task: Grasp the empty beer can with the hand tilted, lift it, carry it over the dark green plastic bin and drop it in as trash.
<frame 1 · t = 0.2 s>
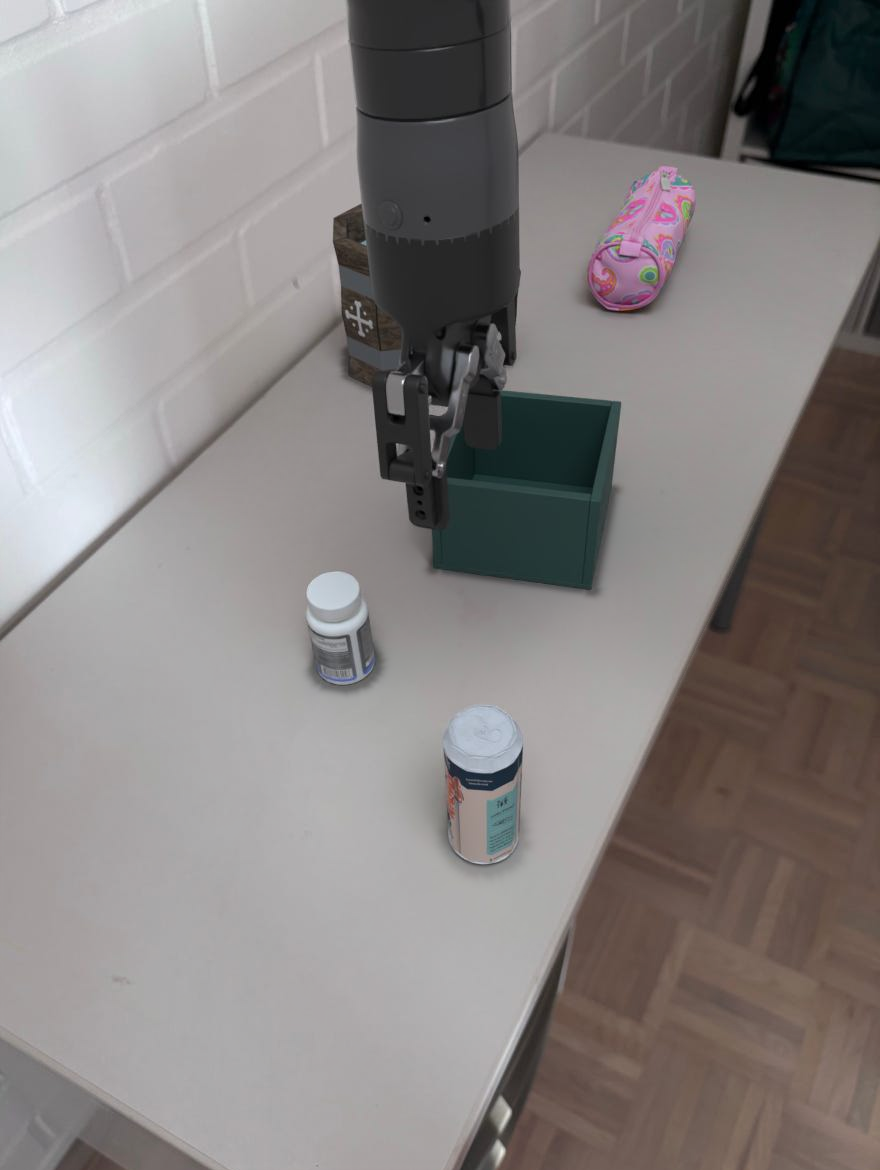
hand: (458, 483, 58), 22 cm above the table, tool pointing down, fingers open, 8 cm apart
beer can: (483, 838, 67), on the table
bin: (525, 527, 88), on the table
pencil case: (639, 274, 118), on the table
pill bottle: (345, 665, 78), on the table
mug: (431, 363, 107), on the table
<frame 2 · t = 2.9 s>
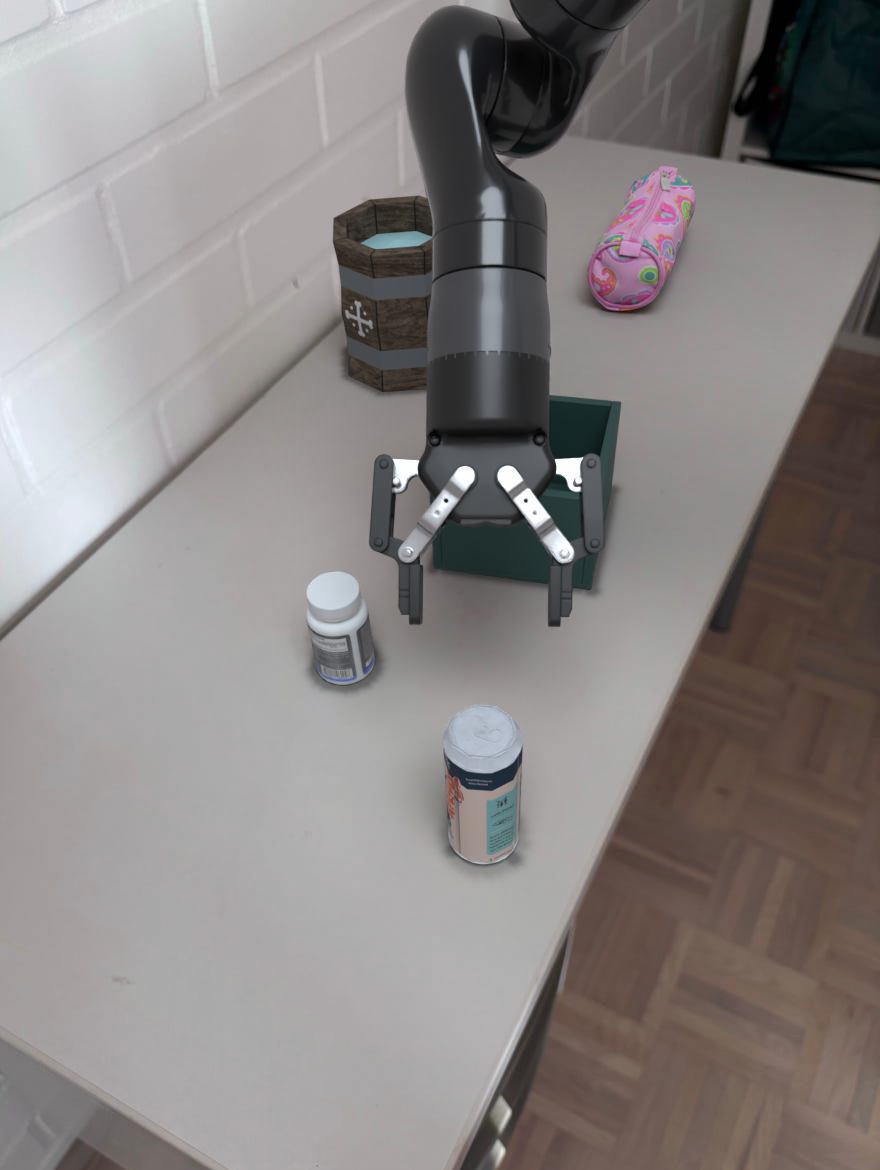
hand: (484, 625, 61), 14 cm above the table, tool tilted 45°, fingers open, 8 cm apart
nothing on the table moved.
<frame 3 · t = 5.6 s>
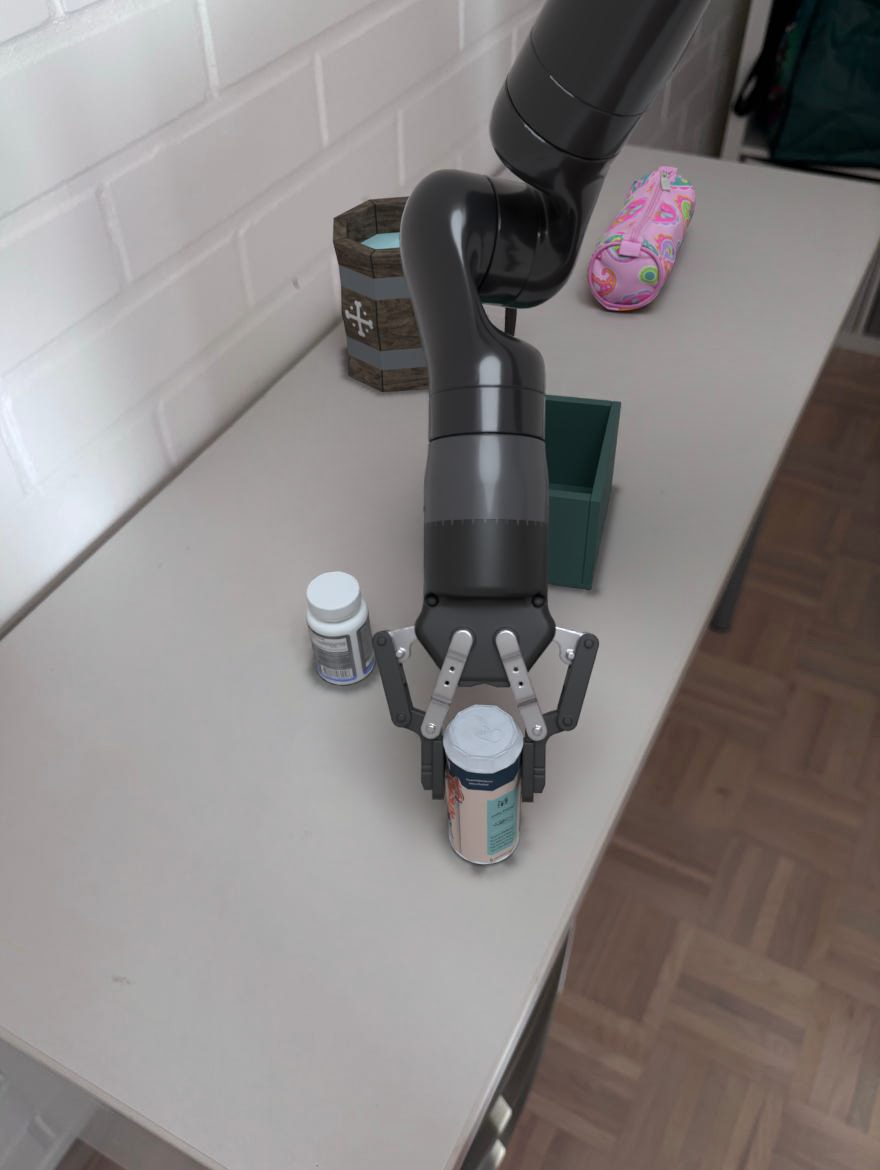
hand: (483, 797, 60), 8 cm above the table, tool tilted 45°, fingers closed on beer can, 4 cm apart
beer can: (483, 838, 67), on the table, touching gripper
everything else where it was.
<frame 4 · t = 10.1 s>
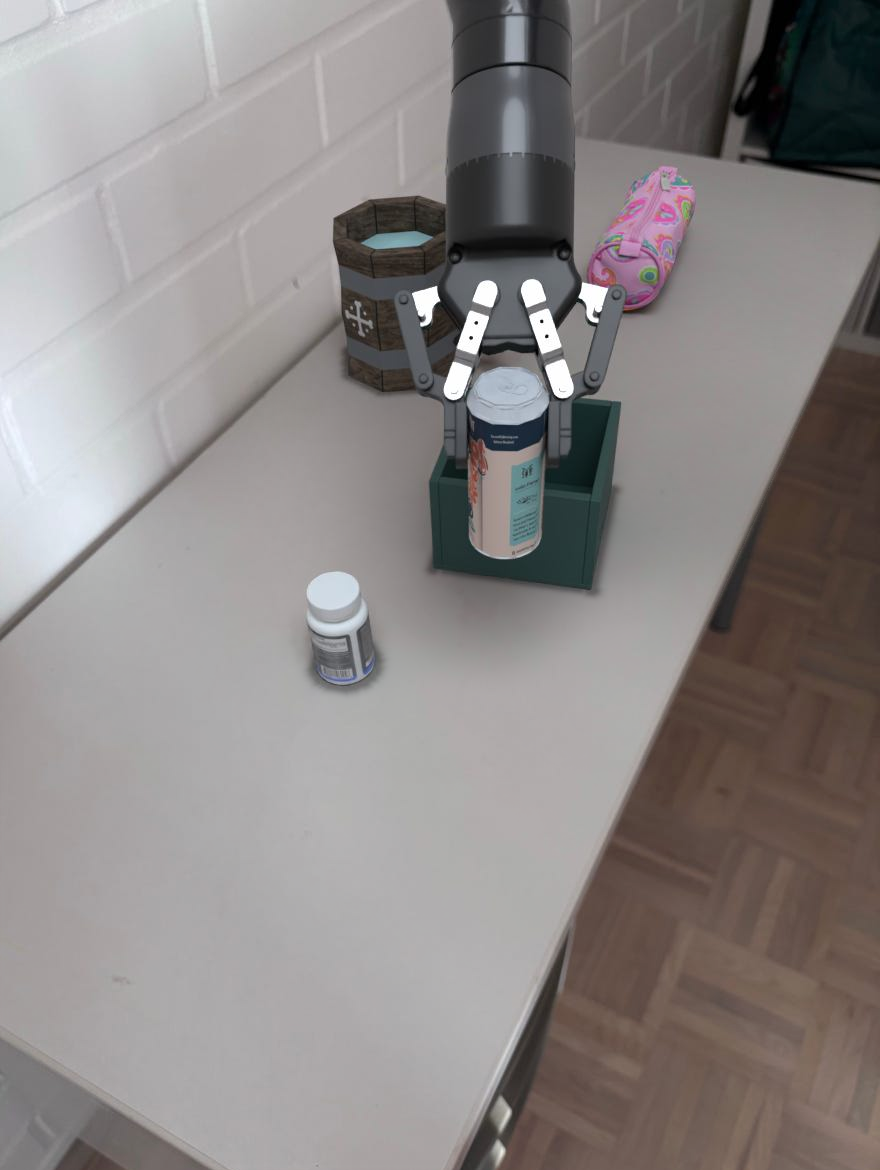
hand: (507, 465, 58), 22 cm above the table, tool tilted 45°, fingers closed on beer can, 4 cm apart
beer can: (504, 542, 65), point 14 cm above the table, touching gripper
everything else where it was.
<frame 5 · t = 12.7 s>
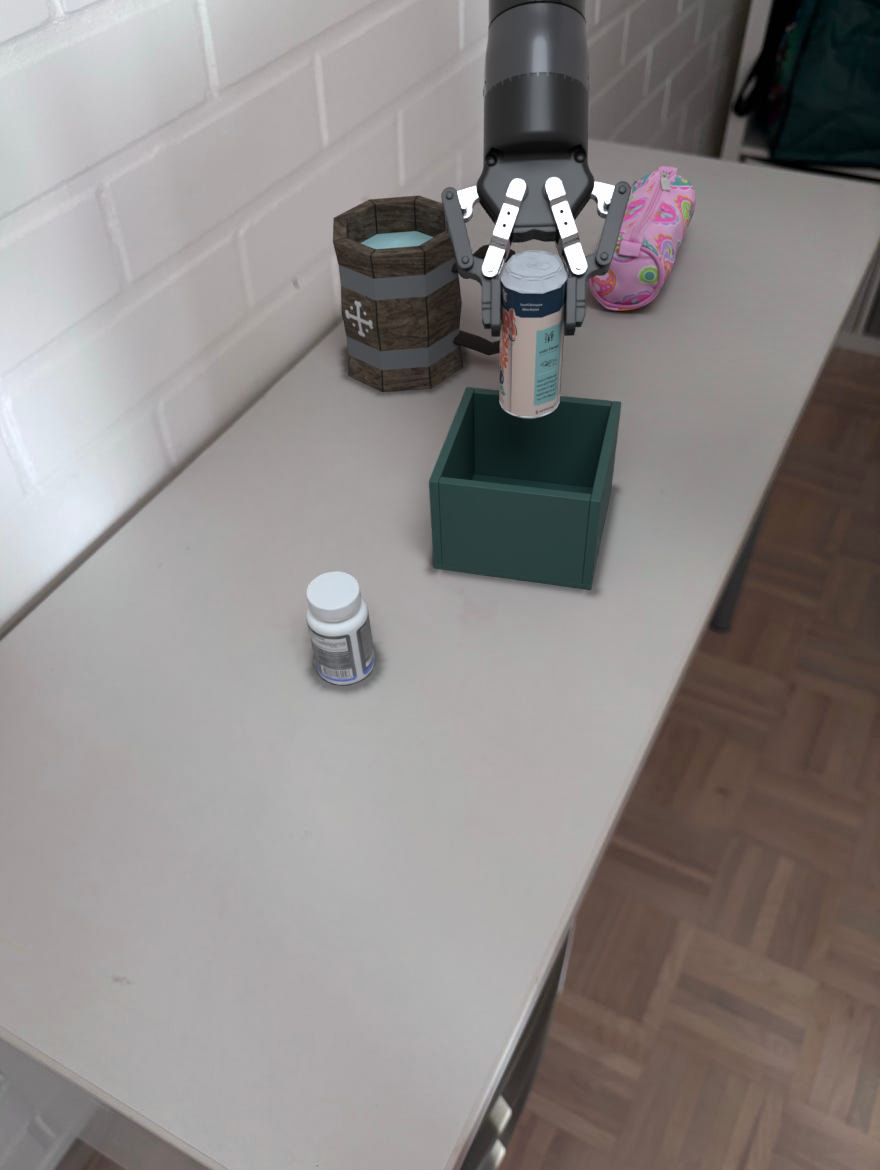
hand: (533, 332, 72), 20 cm above the table, tool tilted 45°, fingers closed on beer can, 4 cm apart
beer can: (529, 407, 79), point 13 cm above the table, touching gripper
everything else where it was.
when the fingers open (13 cm above the table, at t = 15.0 s): beer can drops 4 cm, resting on bin.
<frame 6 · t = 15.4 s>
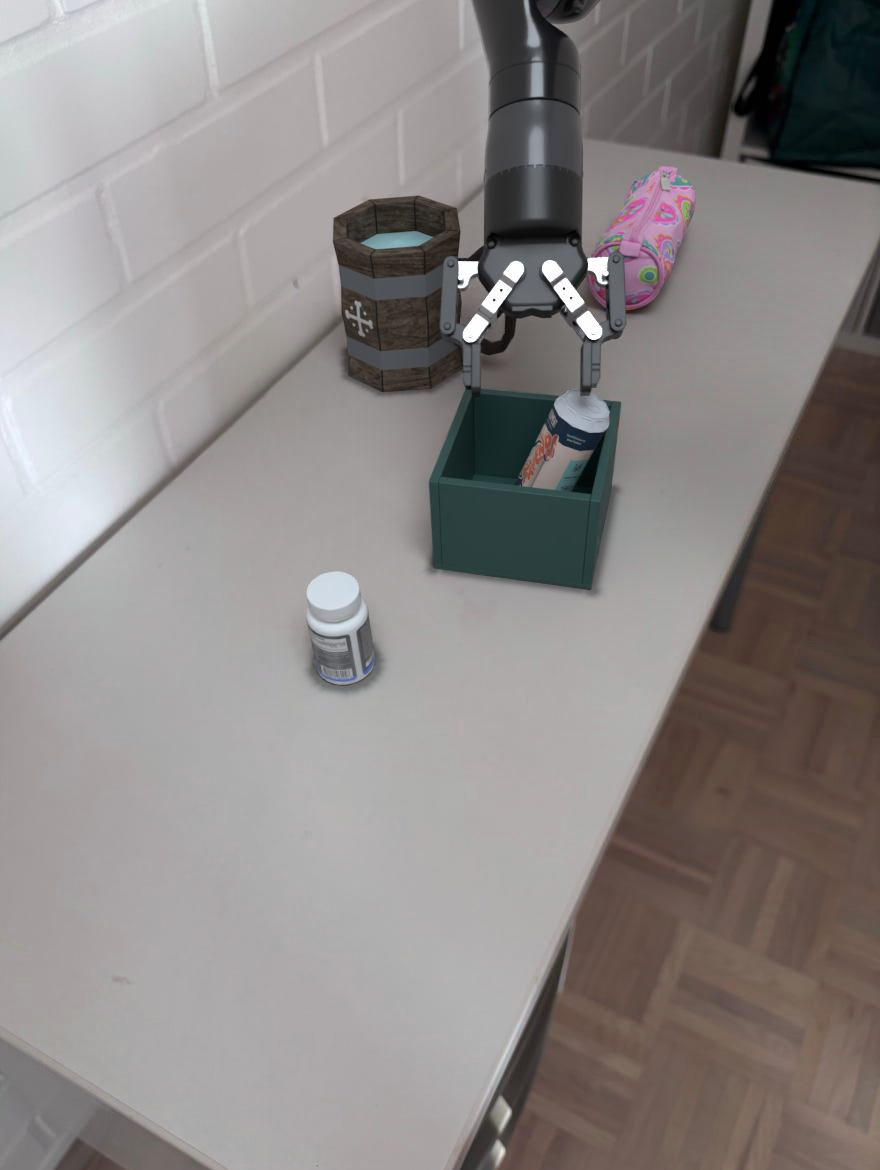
hand: (530, 394, 76), 15 cm above the table, tool tilted 45°, fingers open, 8 cm apart
beer can: (528, 516, 87), point 1 cm above the table, touching bin
everything else where it was.
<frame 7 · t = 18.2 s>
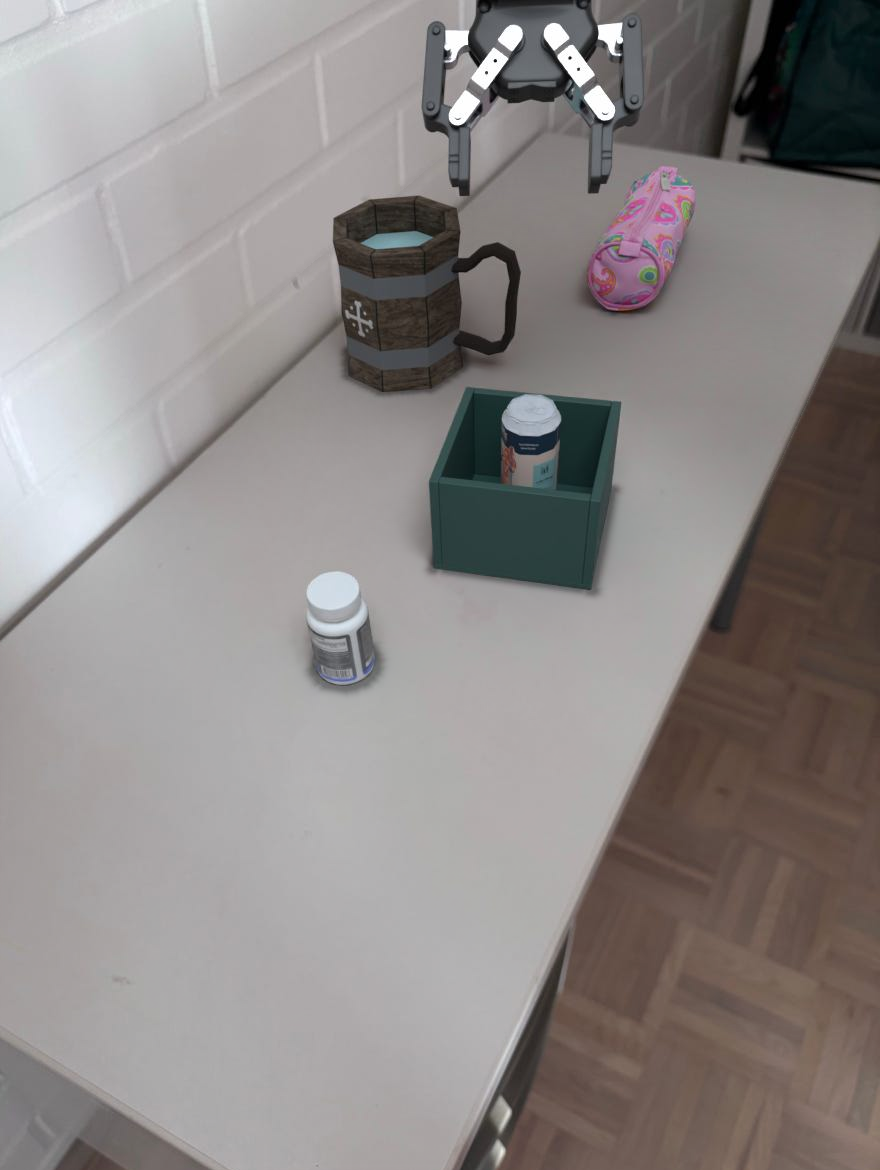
hand: (529, 190, 65), 30 cm above the table, tool tilted 45°, fingers open, 8 cm apart
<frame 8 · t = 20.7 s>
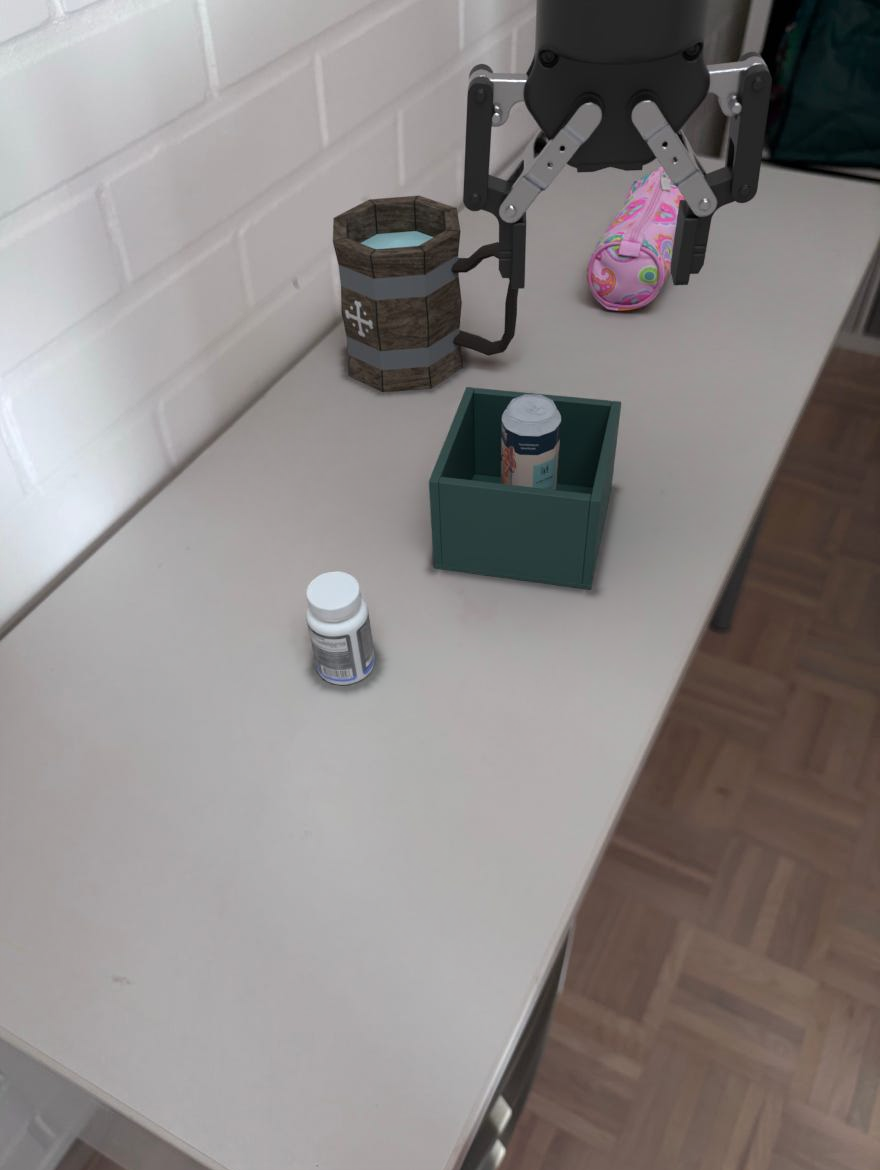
hand: (598, 280, 53), 32 cm above the table, tool pointing down, fingers open, 8 cm apart
at the end: beer can inside the target area in the bin (0.2 cm from its centre), point 0.3 cm above the bin's base; the gripper is holding nothing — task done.
